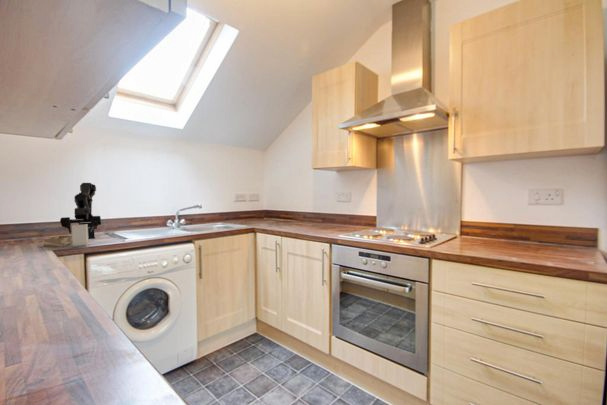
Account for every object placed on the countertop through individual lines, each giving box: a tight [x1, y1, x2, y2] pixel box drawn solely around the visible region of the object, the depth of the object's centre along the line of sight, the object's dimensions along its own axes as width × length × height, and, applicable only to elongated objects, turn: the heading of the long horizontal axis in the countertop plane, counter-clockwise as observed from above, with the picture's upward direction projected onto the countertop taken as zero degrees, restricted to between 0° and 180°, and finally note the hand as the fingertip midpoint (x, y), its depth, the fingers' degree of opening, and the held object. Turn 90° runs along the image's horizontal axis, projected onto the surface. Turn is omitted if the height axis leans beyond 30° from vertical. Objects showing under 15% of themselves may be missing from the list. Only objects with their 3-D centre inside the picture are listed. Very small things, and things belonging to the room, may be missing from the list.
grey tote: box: [71, 224, 90, 248], centre depth 167 cm, size 6×6×12 cm
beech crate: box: [42, 235, 73, 248], centre depth 171 cm, size 11×11×4 cm
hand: (80, 232), depth 166 cm, fingers open, 9 cm apart
